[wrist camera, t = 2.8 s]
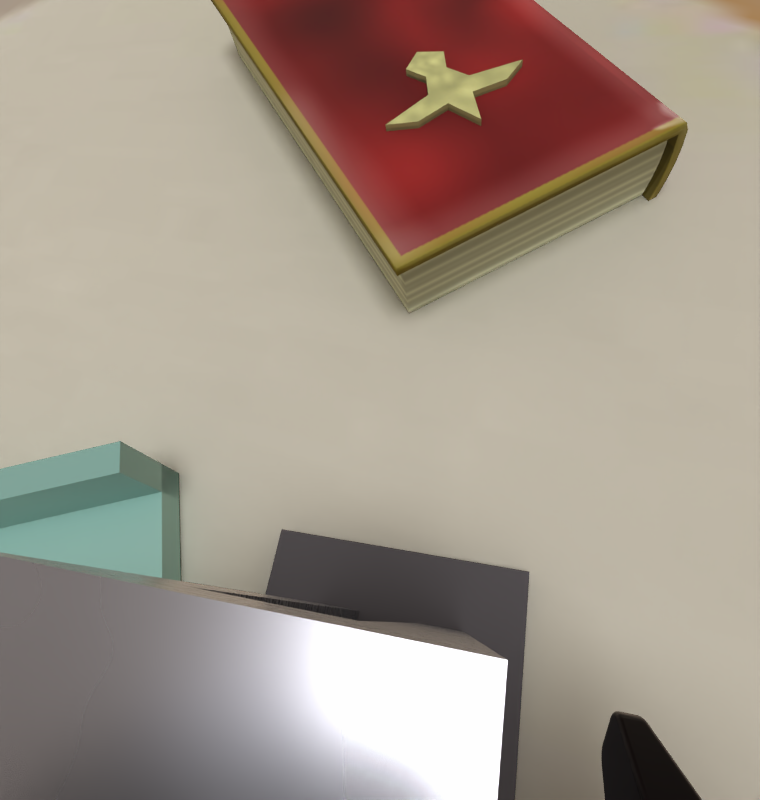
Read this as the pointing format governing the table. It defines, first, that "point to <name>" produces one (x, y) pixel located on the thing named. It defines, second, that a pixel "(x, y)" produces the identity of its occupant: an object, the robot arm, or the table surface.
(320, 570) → the mat
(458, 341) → the table surface
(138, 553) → the teal base plate
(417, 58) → the hardcover book
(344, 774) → the grey tower block
